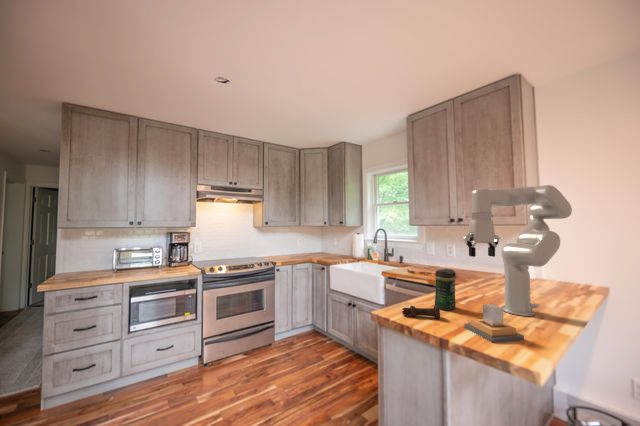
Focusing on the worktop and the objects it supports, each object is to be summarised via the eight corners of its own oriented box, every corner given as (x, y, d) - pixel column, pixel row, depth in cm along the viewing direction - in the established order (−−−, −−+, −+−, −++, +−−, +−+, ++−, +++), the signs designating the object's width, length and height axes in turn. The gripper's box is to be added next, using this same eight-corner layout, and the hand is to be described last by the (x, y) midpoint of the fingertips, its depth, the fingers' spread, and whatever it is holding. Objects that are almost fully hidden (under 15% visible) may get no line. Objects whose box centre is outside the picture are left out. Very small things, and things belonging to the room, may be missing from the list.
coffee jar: (448, 312, 122) (448, 271, 123) (432, 307, 128) (432, 268, 129) (458, 308, 128) (458, 269, 129) (442, 304, 134) (442, 267, 135)
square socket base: (493, 325, 106) (493, 316, 106) (524, 340, 93) (523, 329, 93) (464, 327, 103) (464, 318, 104) (491, 342, 91) (491, 332, 91)
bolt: (402, 319, 117) (438, 321, 115) (403, 316, 113) (441, 318, 110) (401, 305, 121) (436, 307, 118) (402, 302, 116) (438, 304, 114)
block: (493, 330, 101) (492, 304, 101) (503, 335, 97) (502, 307, 97) (483, 331, 100) (482, 304, 100) (492, 336, 96) (492, 308, 96)
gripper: (491, 217, 123) (492, 255, 122) (458, 217, 120) (458, 255, 119) (505, 217, 115) (506, 257, 115) (470, 216, 112) (470, 257, 112)
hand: (481, 256), depth 117 cm, fingers open, 9 cm apart
